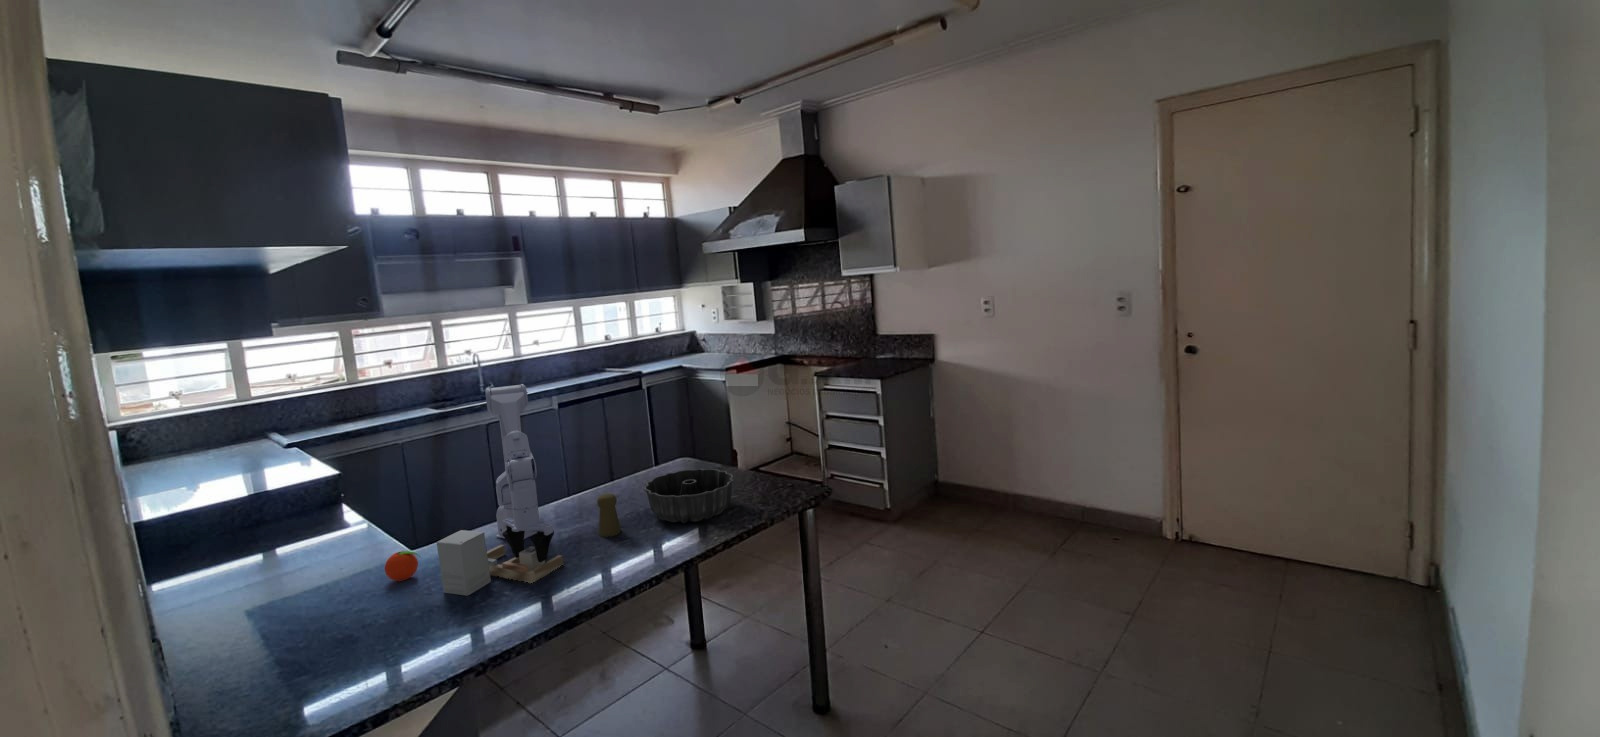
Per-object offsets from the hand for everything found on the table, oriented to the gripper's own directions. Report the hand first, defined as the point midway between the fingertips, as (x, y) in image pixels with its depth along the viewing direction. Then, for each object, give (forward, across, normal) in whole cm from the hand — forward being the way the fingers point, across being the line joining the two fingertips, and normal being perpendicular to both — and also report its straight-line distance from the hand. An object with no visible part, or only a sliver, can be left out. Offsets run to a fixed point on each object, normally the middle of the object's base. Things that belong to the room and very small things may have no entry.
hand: (531, 558), depth 159 cm
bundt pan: (+3, +17, +45) cm, 48 cm away
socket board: (+3, -5, 0) cm, 6 cm away
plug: (+3, 0, 0) cm, 3 cm away
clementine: (+3, -27, -14) cm, 31 cm away
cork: (+3, +3, +25) cm, 25 cm away
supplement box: (+3, -8, -12) cm, 15 cm away
